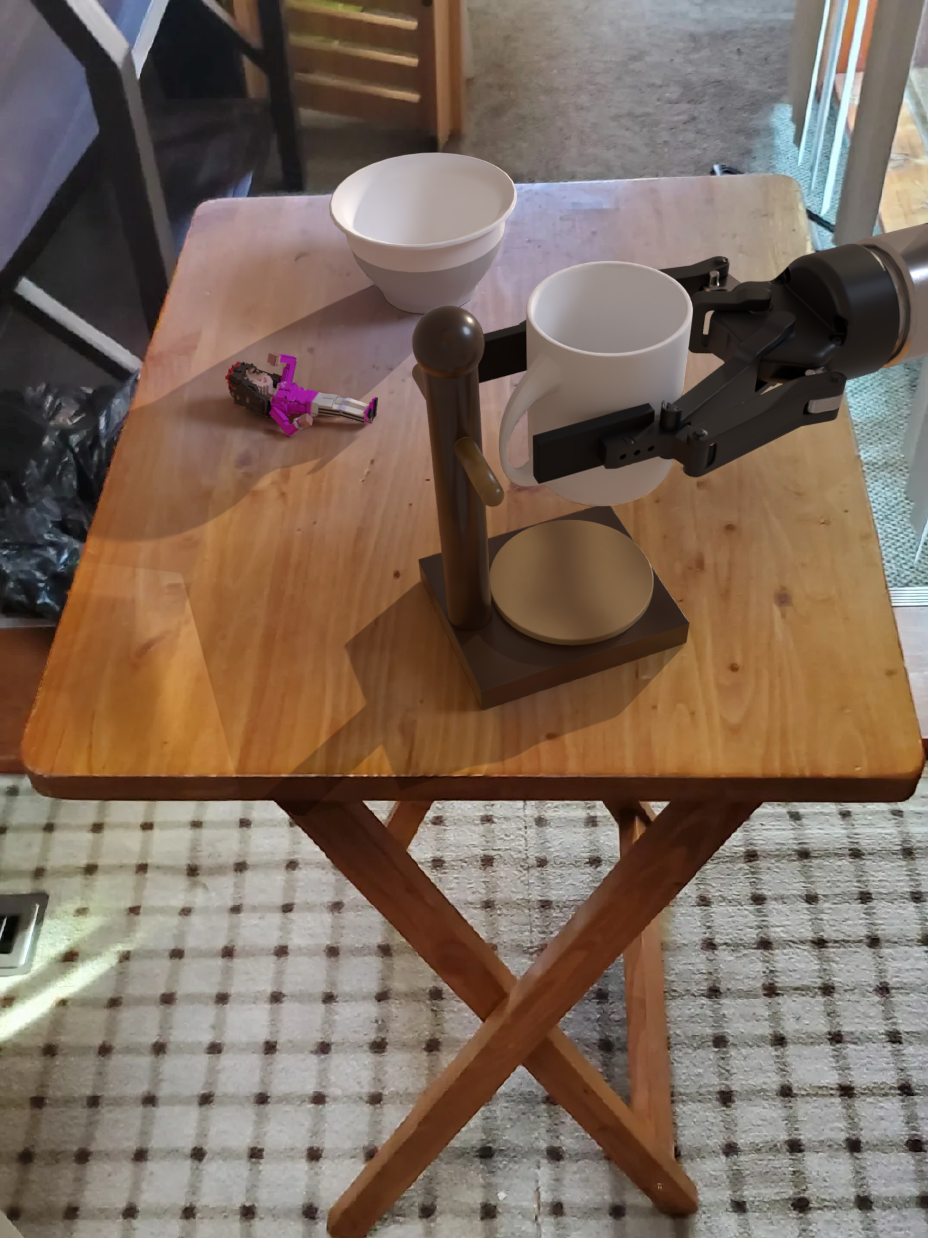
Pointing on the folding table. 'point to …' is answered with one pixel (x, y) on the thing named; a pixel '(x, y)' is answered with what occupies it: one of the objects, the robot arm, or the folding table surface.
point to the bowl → (425, 225)
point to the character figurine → (290, 396)
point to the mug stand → (523, 552)
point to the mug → (599, 367)
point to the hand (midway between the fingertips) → (503, 408)
